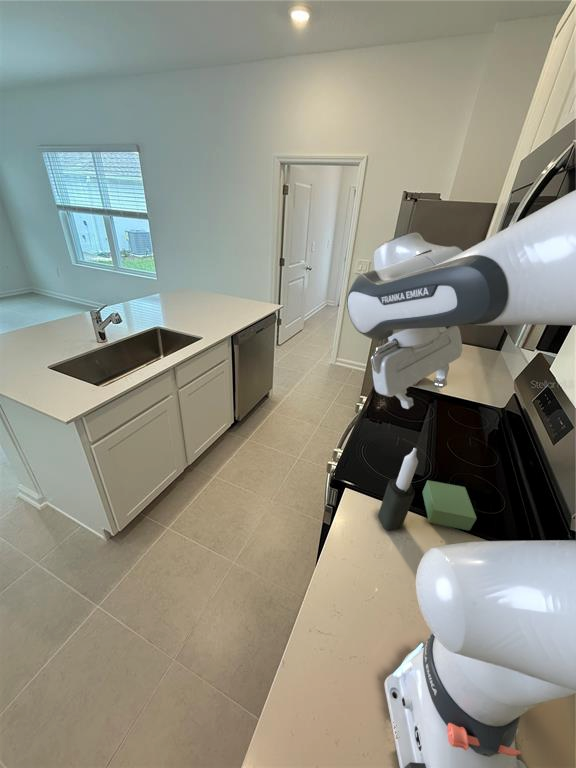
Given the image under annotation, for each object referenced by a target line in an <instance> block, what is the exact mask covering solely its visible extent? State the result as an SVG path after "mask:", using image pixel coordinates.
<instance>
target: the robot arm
mask: <svg viewBox="0 0 576 768" xmlns="http://www.w3.org/2000/svg"><path fill="white" fill-rule="evenodd" d="M373 268H374V269H373V270H370V271H366V272H363V273H360V274H358V275H357V276H356V278H355V280H354V281H353V283H352V285H351V287H350V289H349V291H348V293H347V297H346V309H347V314H348V316H349V317H348V318H349V319H350V321H351V324H352V325H353V327H354V328H355V330H356V332H358V333H360V334H361V335H363V336H365V337H367V338H369V339H371V340H373V341H377V342H380V341H383V340H385V339H388V341H387V342H386V343H384V344H383V345H379V346H378V347H376V348H375V349H374V351H373V352H372V356H371V357H370V363H371V368H372V379H373V386H374V390H375V392H376V393H378V394H379V395H381V396H384V397H388V398H391V397H392V398H393V397H396V398H397V399H398V400H399V401H400V405H401V407H402V408H403V409H406V410H409V409H410V408H412V407H414V405H415V403H414V398H413V397H409V396H407V395H406V394H407V393H408V391H407V389H408V388H410V387H412V386H413V385H414V384H415V383H417V382H418V381H419V382H420V381H422V380H423V379H425V378H427V377H429V376H430V375H432V374H434V373H435V372H436V377H435V378H434V379H433V382H434V387H435V388H438V389H443V388H444V387H446V386H447V385H448V380H447V379H448V374H449V371H450V364H451V363H453V362H455V361H456V360H458V359H460V358H461V356H462V352H463V341H462V334H461V330H460V327H461V326H463V327H464V326H517V325H518V326H519V325H520V326H522V325H523V326H525V325H532V326H533V325H535V326H536V325H537V326H540V325H544V326H576V189H575V190H573V191H571V192H569V193H567V194H565V195H563V196H562V197H560V198H558V199H556V200H554V201H553V202H551V203H549V204H547V205H545V206H544V207H542V208H540V209H538V210H537V211H534V212H533V213H531V214H529V215H527V216H526V217H524V218H522V219H520V220H519V221H517V222H514V223H512V224H511V225H510V226H508V227H506V228H504V229H502V230H500V231H498V232H496V233H495V234H493V235H491V236H489V237H487V238H486V239H484V240H482V241H480V242H478V243H476V244H475V245H472V246H471V247H470V248H468V249H464V248H462V247H459V246H457V245H453V246H452V245H451V246H446V245H445V246H444V245H438V244H434V243H430V242H428V241H426V240H425V239H424V237H423V236H422V235H421V234H420V233H419V232H416V231H415V232H414V231H413V232H406V233H403V234H400V235H397V236H395V237H393V238H391V239H389V240H386V241H385V242H383V243H382V244H379V246H378V247H377V248H376V249H375V250H374V252H373ZM419 382H418V383H419ZM418 383H417V384H418ZM415 594H416V600H417V604H418V608H419V610H420V613H421V616H422V618H423V620H424V623H425V624H426V625H427V627H428V629H429V630H430V632H431V633H430V634H429V635H428V638H427V639H426V642H425V644H423V642H421V643H420V644H419V645H418V646H417V647H416V648H415V649H414V650H412V651H410V652H409V653H408V654H406V656H405V658H404V659H403V660H402V662H401V664H400V666H399V667H398V668H397V669H396V670H395V671H393V673H391V674H390V675H388V676H387V677H386V678H385V680H384V692H385V697H386V702H387V707H388V712H389V718H390V723H391V728H392V734H393V739H394V745H395V749H396V754H397V761H398V765H399V768H528V767H527V765H526V764H525V763H524V762H523V761H522V760H521V759H517V756H519V755H522V751H520V750H519V749H517V748H516V747H517V746H516V735H519V731H520V729H519V724H520V720H521V718H522V715H524V714H525V713H527V712H528V711H529V710H531V709H533V708H534V707H536V706H538V705H541V704H543V703H547V702H550V701H555V700H557V699H561V698H565V697H568V696H569V697H570V696H573V695H576V539H569V540H567V539H564V540H562V539H561V540H560V539H557V540H556V539H555V540H554V539H553V540H551V539H550V540H549V539H548V540H546V539H545V540H488V541H486V540H485V541H483V540H482V541H468V542H457V543H451V544H444V545H440V546H439V545H438V546H435V547H430V548H429V549H427V550H426V551H425V553H424V554H423V555H422V557H421V559H420V561H419V564H418V566H417V569H416V575H415ZM393 694H395V697H396V698H394V696H393ZM393 722H394V723H393ZM396 725H397V726H396ZM394 726H395V727H396V728H395V729H394ZM395 731H396V732H397V733H396V734H395ZM398 731H399V732H398ZM397 734H398V735H397ZM396 735H397V737H398V739H396ZM399 737H400V738H399Z"/></svg>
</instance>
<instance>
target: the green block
mask: <svg viewBox="0 0 576 768" xmlns="http://www.w3.org/2000/svg"><path fill="white" fill-rule="evenodd" d="M421 493H422V497H423V501H424V506H425V512H426V516H427V521H428V523H431V524H434V525H439V526H444V527H450V528H454V529H457V530H458V529H459V530H464V531H469V532H470V531H471V529H472V527H473V526H474V524H475V522H476V521H477V515H476V513H475V510H474V507H473V505H472V502H471V499H470V496H469V493H468V491H467V489H466V487H465V486H461V485H456V484H450V483H444V482H440V481H434V480H429V479H428V480H426V482H425V485H424V487H423V490H422V492H421Z"/></svg>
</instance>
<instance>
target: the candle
mask: <svg viewBox="0 0 576 768" xmlns="http://www.w3.org/2000/svg"><path fill="white" fill-rule="evenodd" d="M417 451H418V448H417V447H413V449H412V451H411V452H410V453H409V454H406V455H405V456H404V458H403V461H402V464H401V467H400V470H399V473H398V476H397V478H396V477H395V478H394V479H393V478H392V479H389V480H388V483H387V486H386V489H385V492H384V496H383V498H382V502H381V504H380V508H379V511H378V514H377V517H378V520H379V522H380V523H381V526H382V528H383V529H384V530H385V531H388V532H389V531H391V530H397V529H398V530H401V529H402V528H403V526H404V523H405V520H406V518H407V515H408V513H409V510H410V507H411V505H412V502H413V500H414V498H415V495H416V491H415V489H414V488H413V484H412V480H413V477H414V475H415V473H416V469H417V467H418V464H419V460H418V457H417Z"/></svg>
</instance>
